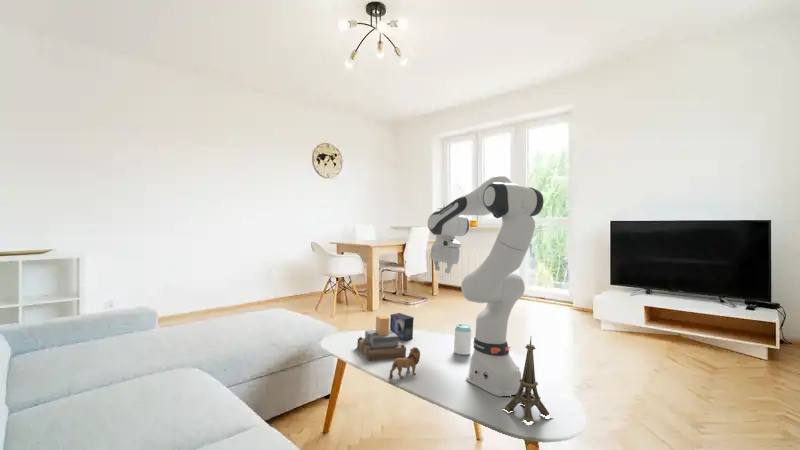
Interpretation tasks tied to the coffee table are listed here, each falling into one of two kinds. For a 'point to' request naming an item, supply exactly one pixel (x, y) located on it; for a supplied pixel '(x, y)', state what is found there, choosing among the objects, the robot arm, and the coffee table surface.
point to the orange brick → (382, 325)
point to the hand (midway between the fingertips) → (442, 271)
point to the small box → (402, 326)
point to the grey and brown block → (381, 346)
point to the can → (462, 339)
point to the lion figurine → (406, 362)
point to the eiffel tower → (528, 389)
